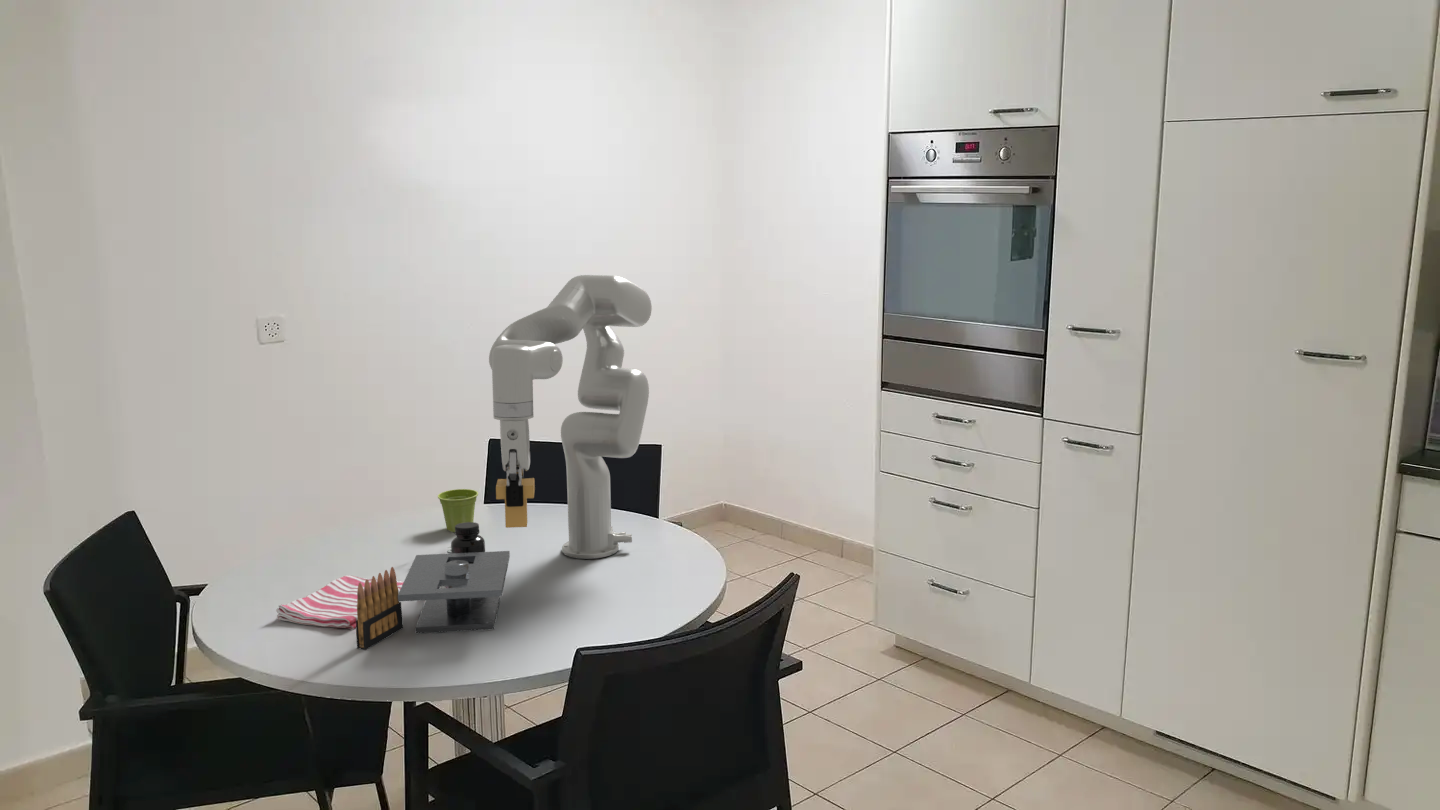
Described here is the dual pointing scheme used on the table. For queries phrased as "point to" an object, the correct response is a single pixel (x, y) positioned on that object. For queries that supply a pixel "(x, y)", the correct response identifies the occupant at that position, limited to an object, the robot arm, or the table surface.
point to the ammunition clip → (378, 610)
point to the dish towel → (328, 605)
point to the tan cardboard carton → (518, 514)
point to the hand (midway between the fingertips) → (515, 500)
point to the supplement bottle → (467, 539)
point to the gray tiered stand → (456, 590)
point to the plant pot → (458, 506)
